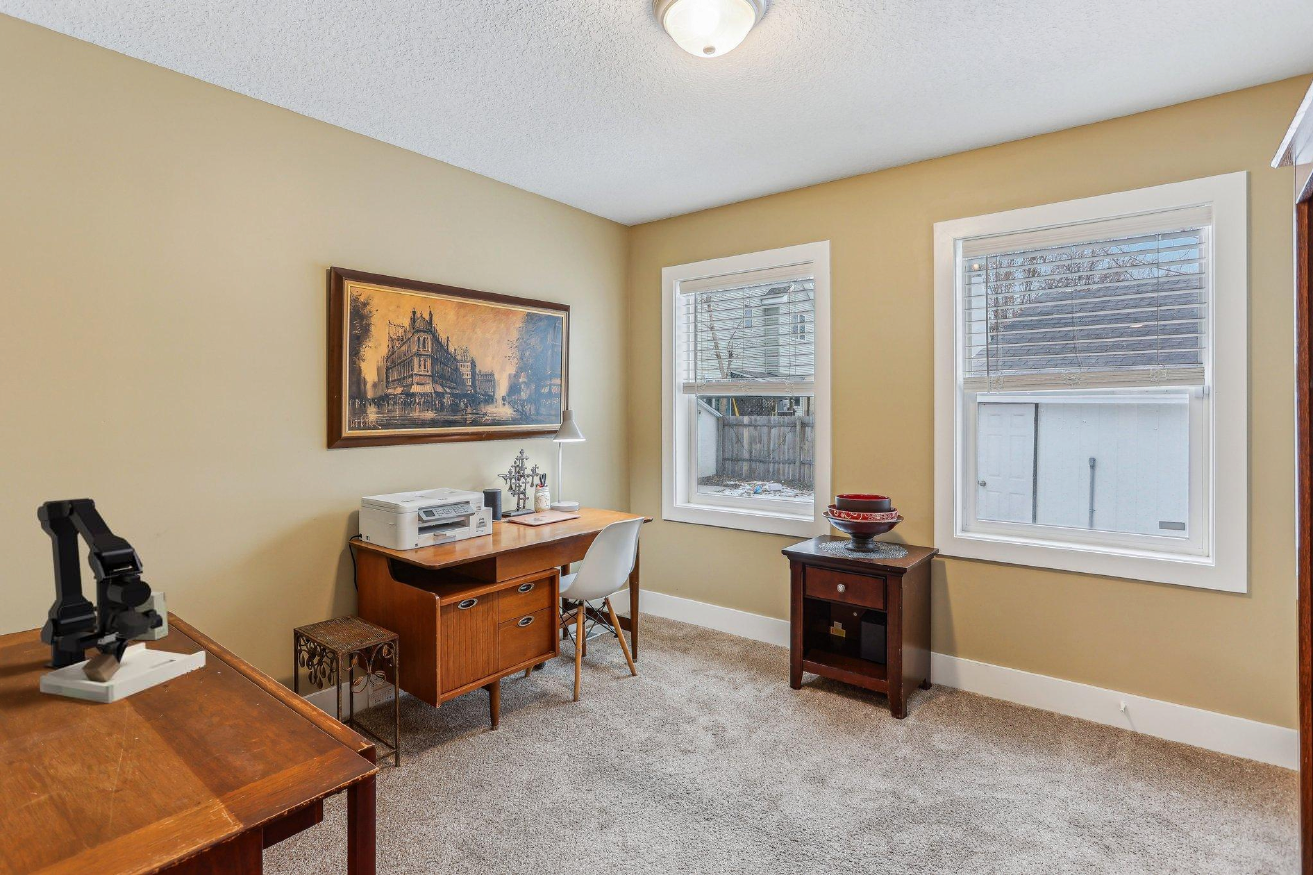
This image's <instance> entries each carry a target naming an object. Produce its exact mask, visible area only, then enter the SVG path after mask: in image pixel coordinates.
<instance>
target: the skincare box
mask: <svg viewBox="0 0 1313 875" xmlns="http://www.w3.org/2000/svg"><path fill="white" fill-rule="evenodd" d="M167 600H168V599H167V590H166V591H160V590H159V591H156V590H154V591H153V590H151V595H150V598H149V599H148V600H147V601H146V602H145V603H144V604H143V605H141V606H138V607H135V610H136V612H141V611H143V612H144V611H145V610H149V609H154V610H156V611H157V614H160V615H161V617H162V618H163V626H161V627H158V628H155V629H149V630H148V633H146V634H141V635H139V636H138V637H137V638H134V640H138V641H139V640H140V641H141V640H144V641H157V640H159V639H162V638H164V637H166V636H169V629H168V628H169V626H168V625H169V624H168V605H167V604H168V601H167Z"/></svg>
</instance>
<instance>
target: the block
mask: <svg viewBox="0 0 1313 875" xmlns="http://www.w3.org/2000/svg"><path fill="white" fill-rule="evenodd" d="M91 658H92V659H91V660H90V661H89V662H88V663H87V664H86V665H84V666H83V667H82V670H83V671H84V673H85V674H86V676H87V677H88V679H89V680H90V681H99V682H107V681H108V680H109V679H110V678H111V677H112V676H113V675H114V674H115V673H116V672H117V671H118V670H119V669H120V668H121V666H120V665H119V663H118V662H117V660H116V658H115V657H114V655H108V654H101V653H96V654H95V655H94V656H92V657H91Z"/></svg>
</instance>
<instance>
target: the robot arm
mask: <svg viewBox="0 0 1313 875" xmlns="http://www.w3.org/2000/svg"><path fill="white" fill-rule="evenodd" d="M36 516H37V520H38V521H39V522H40V528H41V529H42V530H43V532H45V533H46V534H47V536H48V537H49V538H50V539H51V548H52V549H51V550H52V559H53V560H52V561H53V572H54V573H53V574H54V584H55V586H54V589H55V600H54V602H53V604H52V605H51V607H50V608H49V609H48V612H47V620H46V621H45V624H44V625H43V627H42V629H41V631H40V634H39V635H40V640H41V643H43V644H46V645H47V646H50V648H51V649H50V652H51V653H50V656H51V657H50V658H51V661H50V662H49V663H48V662H47V663H45V664H44V665H43V667H44V668H50V669H56V670H59V669H62V668H65V667H68V666H71V665H74V664H77V663H80V662H84V661H87V660H90V659H92V658H93V657H86V651H87V650H88V651H89V650H92V649H94V648H95V649H96V650H97V651H98V652H99V654H108V655H114V657H115V658H116V660H117V662H118V663H119V664H120V662H121V659H122V657H123V654H124V652H125V649H126V648H127V647H129V646H128V645H129V644H130V643H131V642H132V641H133V640H135V638H137V637H138V636H139V635H141V634H146V633H148V630H149V629H155V628H158V627H161V626H163V618H162V617H161V615H160V614H157V611H156V610H154V609H149V610H145V611H144V612H143V611H141V612H136V610H135V607H138V606H141V605H143V604H144V603H145V602H146V601H147V600H148V599H149V598H150V595H151V591H152V588H151V586H150V585H149V583H147V582H146V581H144V580H142V579H141V577H142V576H141V574H144V570H143V566H144V564H143V562H142V561H141V559H140V557H139V556H138V553H137V551H136V549H135V548H134V547H133V546H132V545H131V543H129V541H127V540H126V539H125V537H121V536H119V535H115V534H114V533H113V532H112V530H111V529H110V527H109V526H108V524H107V523H106V521H105V519H104V518H103V517H102V515H101V514H100V513H99V512H98V510H97V509H96V503H95V501H94V499H93V498H89V497H86V498H72V499H69V498H68V499H60V500H59V499H58V500H57V499H56V500H48V501H47V500H46V501H44V502H43V503H42V505H41V506H39V507H38V508H37V511H36ZM79 535H80V536H81V538H82V539H83V541H85V543H86V545H87V546H88V548H89V553H88V555H87V561H88V566H89V567H90V569H91V571H92V573H93V574H94V576H93V579H94V580H96V581H95V585H96V586H95V587H96V588H95V589H96V591H95V592H96V594H95V595H96V605H94V603H93V602H92V601H89V600H88V599H87V598H86V597H85V596H84V594H83V585H82V572H81V561H80V550H79V549H80V547H79Z"/></svg>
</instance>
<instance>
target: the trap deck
mask: <svg viewBox="0 0 1313 875" xmlns="http://www.w3.org/2000/svg"><path fill="white" fill-rule="evenodd" d="M90 660H91V659H90ZM90 660H87V661H84V662H80V663H77V664H74V665H71V666H68V667H65V668H62V669H56V670H53V671H51V672H47V673H43V674H41V675H39V692H41V693H45V694H53V695H58V696H64V697H70V698H74V699H82V700H87V701H93V702H100V703H104V704H111V703H114V702H116V701H119V700H122V699H124V698H127V697H129V696H131V695H134V694H136V693H139V692H141V691H144V690H147V689H150V688H152V687H154V686H157V685H160V684H162V683H165V682H168V681H169V680H172V679H175V678H177V677H179V676H182V674H183V675H185V674H188V673H190V672H192V671H191V670H193V671H195V670H198V669H200V668H202V667H205V666H206V651H205V650H201V651H198V652H195V653H192V654H184V653H179V652H178V653H177V652H171V651H163V650H155V649H148V648H146V643H145V642H139V643H136V644H134V645H131V646H130V645H129V646H127V647H126V649H125V652H124V654H123V657H122V659H121V662H120V664H119V665H120V666H121V668H120V669H119V670H118V671H117V672H116V673H115V674H114V675H113V676H112V677H111V678H110V679H109V680H108V681H107V682H99V681H90V680H89V679H88V677H87V676H86V674H85V673H84V671H83V670H82V667H83V666H84V665H86V664H87V663H88V662H89V661H90ZM204 665H205V666H204ZM199 667H200V668H199ZM187 672H188V673H187Z"/></svg>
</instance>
